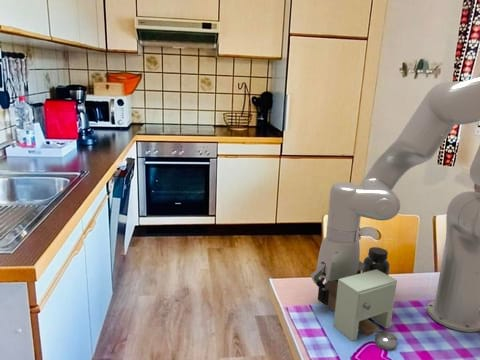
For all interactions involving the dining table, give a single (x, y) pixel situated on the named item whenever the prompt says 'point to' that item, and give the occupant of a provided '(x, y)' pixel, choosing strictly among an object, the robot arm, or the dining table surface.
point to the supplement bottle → (376, 261)
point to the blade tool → (364, 325)
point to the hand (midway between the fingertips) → (335, 298)
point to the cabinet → (364, 301)
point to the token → (386, 340)
